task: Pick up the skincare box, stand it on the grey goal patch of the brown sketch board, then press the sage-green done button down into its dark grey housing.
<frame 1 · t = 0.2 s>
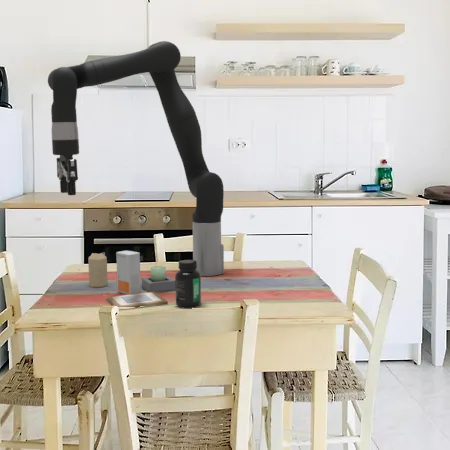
hand: (68, 193, 196), 29 cm above the table, fingers open, 8 cm apart
button housing: (158, 289, 199), on the table
skincare box: (129, 293, 195), on the table
sketch board: (136, 301, 185), on the table
supplement bottle: (188, 305, 181), on the table
done button: (158, 275, 198), point 4 cm above the table, slide at 0.0 cm
candle: (98, 285, 205), on the table
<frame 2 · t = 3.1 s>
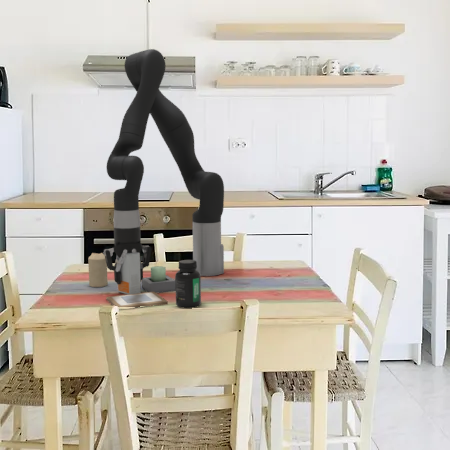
hand: (128, 282, 195), 3 cm above the table, fingers closed on skincare box, 5 cm apart
skincare box: (129, 293, 195), on the table, touching gripper
everything else where it was.
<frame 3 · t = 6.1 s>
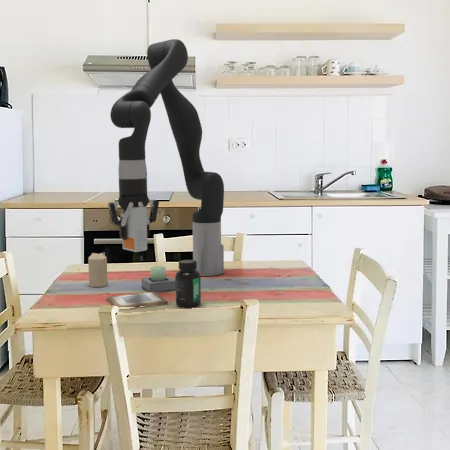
hand: (134, 238, 182), 18 cm above the table, fingers closed on skincare box, 5 cm apart
skincare box: (135, 250, 183), point 14 cm above the table, touching gripper
everything else where it was.
when the fingers open (5 cm above the table, at t = 8.7 s): skincare box stays where it is, resting on sketch board.
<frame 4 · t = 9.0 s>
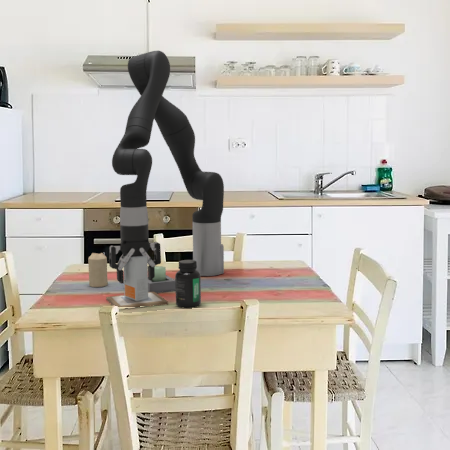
hand: (136, 281, 184), 6 cm above the table, fingers open, 8 cm apart
skincare box: (136, 298, 185), point 1 cm above the table, touching sketch board
everything else where it was.
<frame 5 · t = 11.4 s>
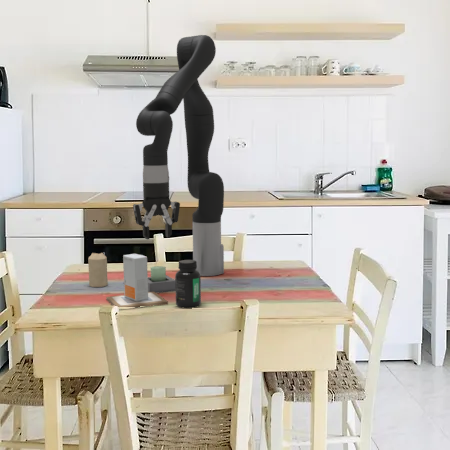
hand: (157, 237, 196), 15 cm above the table, fingers open, 5 cm apart
nothing on the table moved.
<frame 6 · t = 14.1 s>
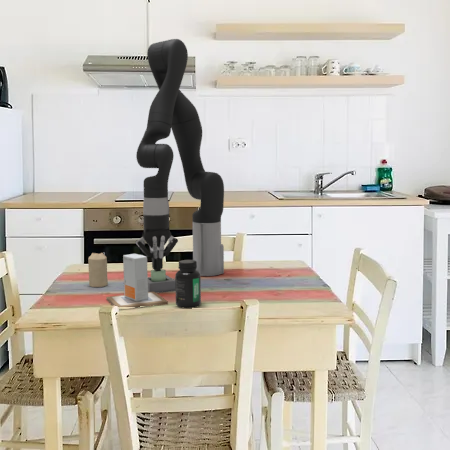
hand: (157, 270, 198), 6 cm above the table, fingers closed
done button: (158, 277, 198), point 3 cm above the table, slide at 0.9 cm
everything else where it was.
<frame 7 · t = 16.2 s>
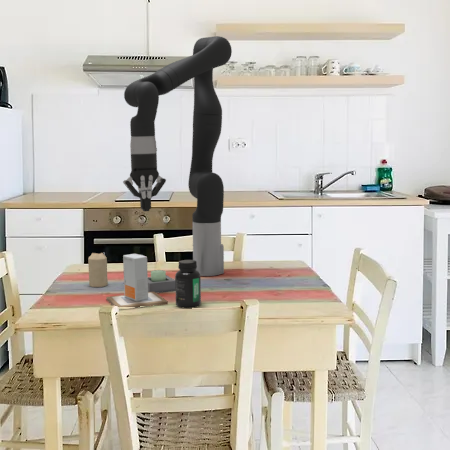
hand: (145, 210, 198), 23 cm above the table, fingers closed
nothing on the table moved.
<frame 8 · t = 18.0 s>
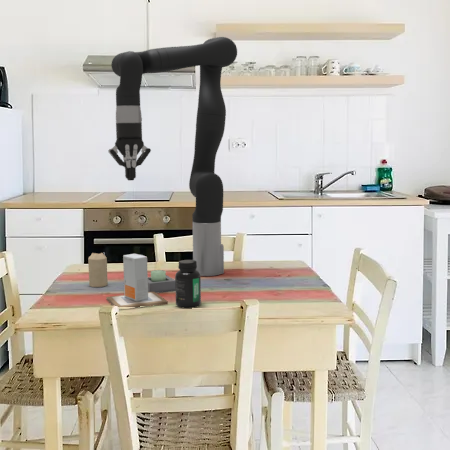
hand: (130, 180, 200), 32 cm above the table, fingers closed
nothing on the table moved.
at the end: skincare box inside the target area on the sketch board (0.1 cm from its centre), point 0.8 cm above the sketch board's base; skincare box tilted 0°; done button slide at 1.2 cm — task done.
